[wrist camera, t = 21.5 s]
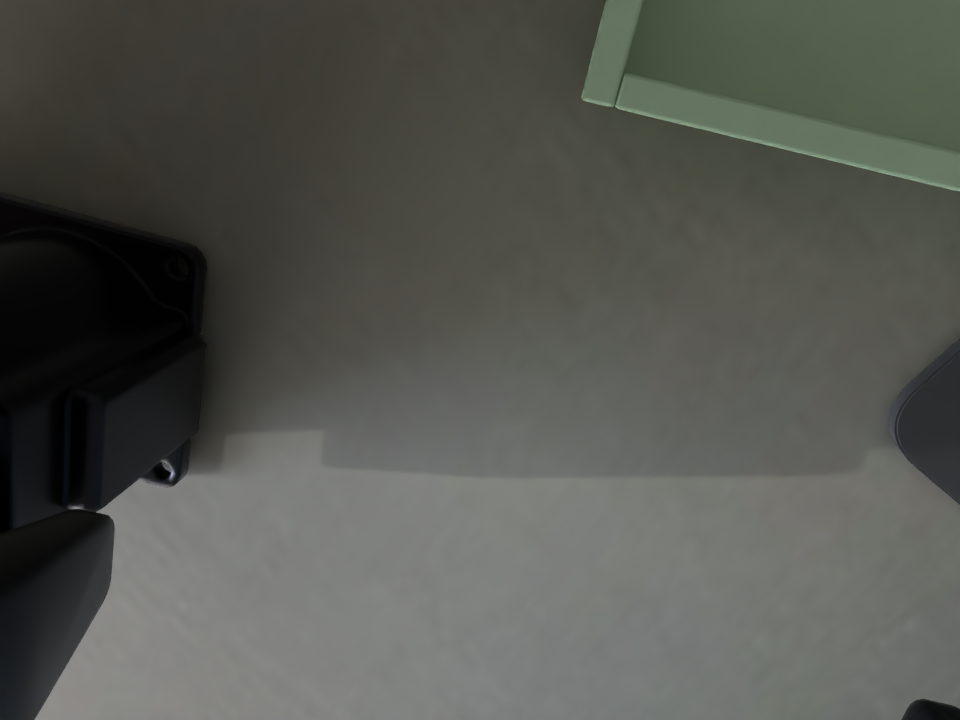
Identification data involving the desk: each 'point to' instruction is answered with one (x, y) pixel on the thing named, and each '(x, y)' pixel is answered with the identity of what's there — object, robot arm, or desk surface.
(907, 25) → the tray
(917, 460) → the phone
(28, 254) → the robot arm
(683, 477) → the desk surface
